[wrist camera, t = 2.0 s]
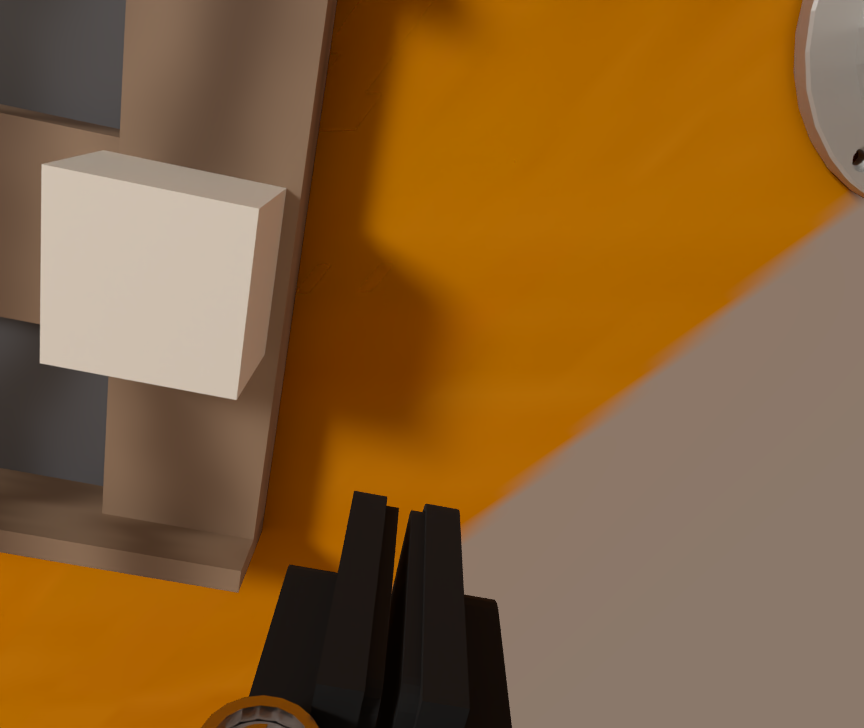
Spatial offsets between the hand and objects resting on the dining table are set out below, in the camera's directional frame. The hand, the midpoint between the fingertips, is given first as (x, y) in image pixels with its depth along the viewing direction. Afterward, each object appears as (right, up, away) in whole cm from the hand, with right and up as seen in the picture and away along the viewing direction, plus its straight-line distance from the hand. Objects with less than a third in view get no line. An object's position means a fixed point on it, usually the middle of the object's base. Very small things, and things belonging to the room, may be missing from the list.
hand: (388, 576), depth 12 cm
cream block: (-8, +7, +13) cm, 17 cm away
